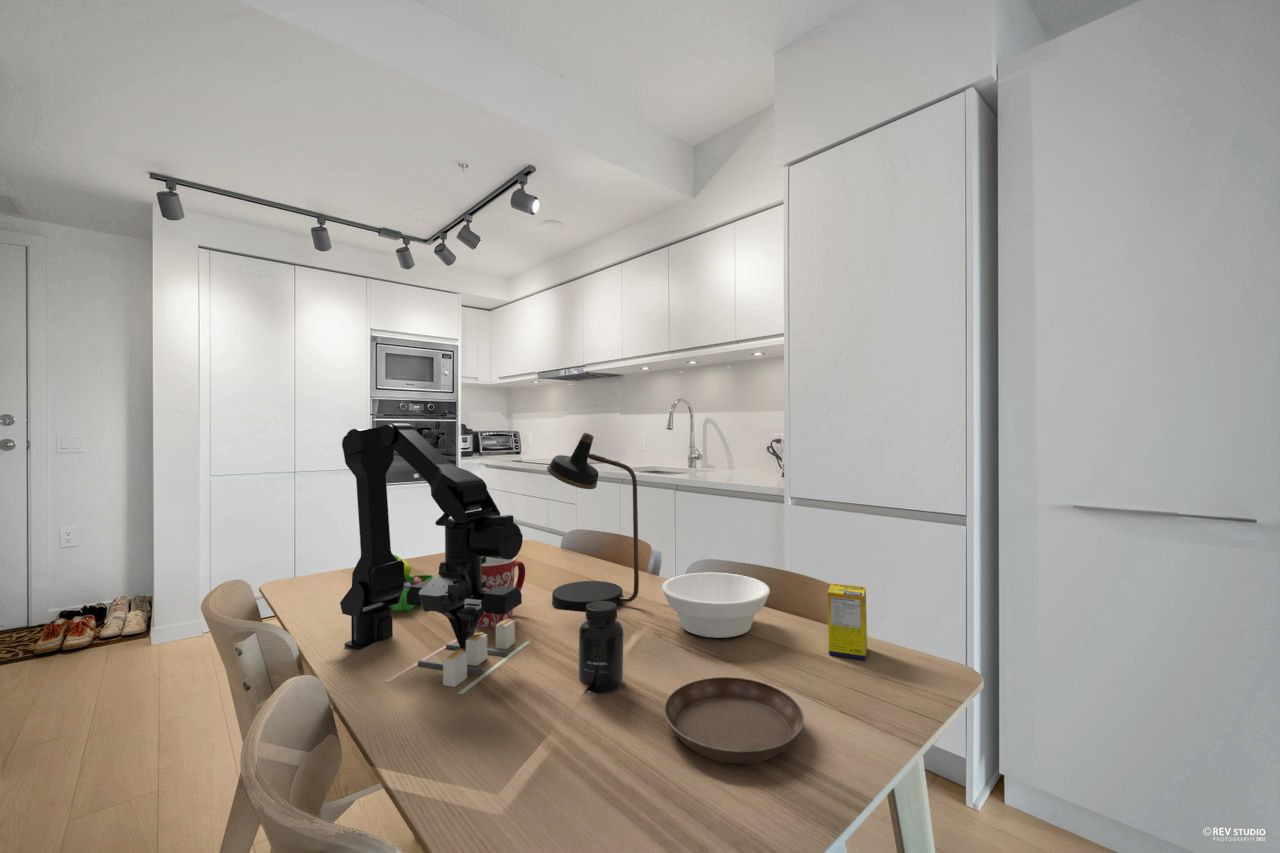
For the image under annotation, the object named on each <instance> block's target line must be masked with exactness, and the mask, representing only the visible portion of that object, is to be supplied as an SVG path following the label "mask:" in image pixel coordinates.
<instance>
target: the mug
mask: <svg viewBox="0 0 1280 853" xmlns="http://www.w3.org/2000/svg"><path fill="white" fill-rule="evenodd" d="M516 557H517V556H516ZM516 557H514V558H513V559H510V560H506V559H498V558H490V557H486V563H483V564H482V580H483V581H486V587H485V588H483V589H482V591H487V592H488V591H490V590H492V589H494V588H496V587H498V586H509V587H518V589H519V590H520V592H521V591H522V589H523V586H524V583H525V578H526V566H525V564H524V563H523V562H522V561H520V560H517V558H516ZM515 568H517V570H518V573H517V580H516V582H515V572H516V571H515ZM513 610H514V608H513V609H512V610H510V611H509V612H507V613H505V614H491V613H485V611H484V613H483V614H482V616H481V618H480V620H479V622H478V624H477V627H481V628H496V625H497V624H498V623H500V622H501V621H503V620H505V619H506V620H507V619H512V620H513V614H514V611H513Z"/></svg>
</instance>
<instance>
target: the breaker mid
mask: <svg viewBox="0 0 1280 853" xmlns="http://www.w3.org/2000/svg"><path fill="white" fill-rule="evenodd" d="M487 648H488V634H487V633H484V632H482V631H479V632H476V633H475V634H473V636H471V637H469V638H468V639H466V652H467V666H472V667H474V666H475V667H477V666H479V665H480V664H482V663H483V662H484V661H486V660H487V659H488V654H487Z"/></svg>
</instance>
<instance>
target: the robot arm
mask: <svg viewBox="0 0 1280 853" xmlns="http://www.w3.org/2000/svg"><path fill="white" fill-rule="evenodd" d="M341 448H342V451H343V452H342V453H343V457H344V458H343V459H344V463H345V465H346V466H347V467H348V469H349V471H350V472H351V474H353V476H354V477H355V481H356V495H357V496H356V498H357V499H356V500H357V511H358V512H357V513H358V515H357V516H358V527H359V528H358V529H359V530H358V531H359V543H360V544H359V546H360V547H359V548H360V558H359V559H358V562H357V563H356V565H355V567H354V569H353V571H352V574H351V587H350V588H349V590H348V591H347V593H346V594H345V595H344V596H343V598H342V599H341V600H340V602H339V604H340V609H341V613H342V615H346V616H351V622H350V623H351V624H350V625H351V626H350V627H351V632H350V634H351V636H350V637H351V638H350V639H351V640H348V641H346V642H344V647H347V648H354V649H362V650H363V649H365V648H367V647H369V646H371V645H373V644H375V643H377V642H383V641H385V640H387V639H390V638H391V637H392V636H393V627H394V626H393V625H394V624H393V616H392V610H391V607H389V606H392V605H396V604H399V601H400V597H401V593H402V591H403V588H404V582H406V579H405V575H404V562H403V561H402V560H400V561H398V560H397V559H396V558H395V556H394V555H395V554H393V552H392V547H391V535H390V534H391V532H390V522H389V521H390V519H389V518H390V517H389V516H390V515H389V502H388V488H387V474H388V472H389V469H390V468H391V466H392V464H393V463H394V461H395V452H396V453H397V454H398V455H399V456H400V457H401V458H402V459H403V460H404V461H405V462H406V463H407V464H408V465H409V466H410V467H411V468H412V469H413V470H414V471H415V472H416V473H417V474H418V475H419V476H420V477H421V478H423V479H424V480H425V482H427V484H428V485H429V487H430V495H431V497H432V499H433V500H434V502H435V503H436V504H437V506H438V507H439V509H440V510H441V511H442V512H443V514H442V515H441V516H440V517H439V518H438V519H436V521H435V522H434V523H435V524H434V525H436V526H438V527H444V552H445V553H444V554H445V555H444V556H445V557H444V561H441V562H440V563H439V566H438V574H437V575H436V576H435V577H432V579H431V580H426V581H424V582H421V583H419V584H416V585H414V586H411V587H410V589H409V590H408V592H407V605H414V606H415V607H422V610H423V612H437V613H439V614H441V615H443V616H444V617H445V618H446V619H448V621H449V623H450V626H451V627H452V630H453V633H454V636H455V639H456V638H457V641H456V642H457V643H458V645H459V646H460V648H461V649H466V639H468V638H469V637H471V636H473V635H474V633H475V631H476V628H477V627H478V626H477V624H478V622H479V620H480V618H481V616H482V614H483V613H484V611H485V613H491V614H505V613H507V612H509V611H510V610H512V609H513V610H514V609H515V608H517V607H519V606H520V605H521V604H522V603H523V602H522V601H523V600H522V598H523V597H522V592H521V591H520V590H519V589H518V587H515V586H514V587H509V586H498V587H496V588H494V589H492V590H490V591H488V592H487V591H482V589H483V588H485V587H486V581H483V580H482V564H483V563H486V557H490V558H498V559H506V560H510V559H513V558H514V557H517V555H518V554H519V553H520V551H521V549H522V545H523V540H524V539H523V538H524V537H523V536H524V535H523V533H522V531H521V528H520V527H519V525H518V524H516V523H515V522H514V518H515V517H514V515H511V514H506V515H501V512H500V510H499V508H498V506H497V504H496V503H495V501H494V499H493V497H492V496H491V494H490V492H489V490H488V486H487V484H486V482H485V481H484V479H482V478H481V477H479V476H478V475H476V474H474V473H472V472H471V471H470V470H467V469H464V468H461V467H458V466H455V465H454V464H453V463H451V462H450V461H449V460H448V459H447V458H446V457H445V456H444V455H443V454H442V453H440V451H438V450H437V449H436V448H435V447H434V446H433V445H432V444H431V443H430V442H428V440H426V439H425V437H423V436H422V435H421V434H420V433H419V432H418V430H417V428H416V427H415V426H414V425H413V424H410V423H403V422H402V423H397V422H396V423H392V422H391V423H387V424H384V425H381V426H378V427H374V428H373V427H372V428H352V429H349V431H348V432H347V433H346V435H345V436H343V438H342V442H341ZM471 596H473V597H471Z"/></svg>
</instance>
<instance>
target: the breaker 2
mask: <svg viewBox="0 0 1280 853" xmlns="http://www.w3.org/2000/svg"><path fill="white" fill-rule="evenodd" d="M515 643H516V620H513V618H512V619H507V620H506V619H505V620H503V621H501V622H500V623H498V624H497V625H496V627H495V649H497V650H505V651H507V649H509V648H510V647H511V646H512V645H515Z"/></svg>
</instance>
